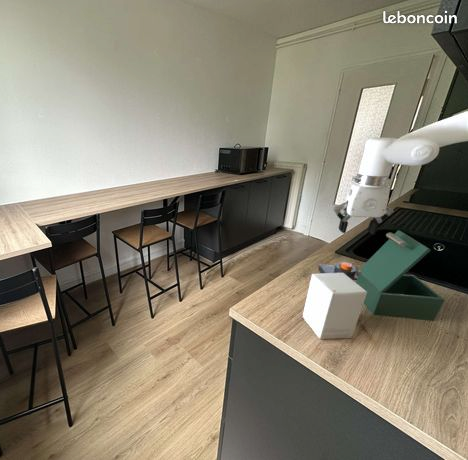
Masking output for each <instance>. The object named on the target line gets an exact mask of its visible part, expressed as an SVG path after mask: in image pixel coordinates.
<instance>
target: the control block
mask: <svg viewBox="0 0 468 460" xmlns="http://www.w3.org/2000/svg"><path fill="white" fill-rule="evenodd" d="M341 263H342V262H337V263H336V264H335V265H329V264H319V265H318V268H317V269H318V271H319V274H323V273H344V274H345V275H347V276H348V277H349V278H350V279H352V280H353V281H357V279H358V275H357V274H356V273H357V270H358V269H357V268H356V267H355V266H354V265H352V268H351V270H344V269H342V268H340V266H341Z"/></svg>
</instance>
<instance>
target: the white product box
mask: <svg viewBox="0 0 468 460" xmlns="http://www.w3.org/2000/svg"><path fill="white" fill-rule="evenodd" d="M310 277H311V278H310V282H309V285H308V291H307V294H306V298H305V299H306V300H305V304H304V307H303V313H302V318H303V319H304V320H305V322H306V323H307V325H308V326H309V327H310V328H311V330H312V331H313V333H314V334H315V335H316V336H317V338H318V339H319V340H331V339H351V338H353V334H354V333H355V329H356V326H357V323H358V321H359V318H360V315H361V312H362V309H363V306H364V301H365V298H366V295H367V291H365V290H364V289H363V288H362V287H360V286H359V285H358V284H356V282H355V280H352V279H350V278H349V277H348V276H347V275H345V274H344V273H323V274H321V273H312V274H311V276H310Z"/></svg>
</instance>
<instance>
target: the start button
mask: <svg viewBox="0 0 468 460" xmlns="http://www.w3.org/2000/svg"><path fill="white" fill-rule="evenodd" d="M340 263H341V266H340V268H342V269H344V270H351V268H352V266H353V264H352V263H350V262H347V261H342V262H340Z"/></svg>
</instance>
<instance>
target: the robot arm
mask: <svg viewBox="0 0 468 460" xmlns="http://www.w3.org/2000/svg"><path fill="white" fill-rule="evenodd" d="M465 142H468V110H466V111H463V112H461V113H458V114H455V115H452V116H450V117H447V118H443V119H441V120H439V121H436V122H433V123H431V124H427V125H426V126H423V127H421V128H418V129H415V130H414V131H411V132H408V133H406V134H404V135H402V136H401V137H399V138H396V137H372V138H370V139H368V140H367V141H366V143H365V146H364V147H365V148H364V150H363V154H362V156H361V157H362V158H361V161H360V165H359V169H358V172H357V174H356V176H352V178H351V181H352V182H354V183H352V185H351V187H350V189H349V191H348V192H347V196H346V198H345V201H344V202H342V203H341V204H338V205H336V206H334V207H333V211H334V214H335V215H336V216H337V218H338V219H339V225H338V230H339V231H340V232H341V233H342V234H345V233H346V232H347V228H348V226H349V225H348V224H349V220H350V219H351V218H352V217H354V218H372V219H370V221H369V223H368V227H367V232H369V233H370V234H371V235H376V232H377V231H378V229H379V225H380V224H381V223H383V221H384V220H386V219H388V217H389V216H391V215H392V214H393V213H394V212H395V210H394V209H393V208H392V207H390V206H388V203H389V196H390V185H388V180H389V179H390V178H389V177H390V174H391V171H392V168H393V165H394V164H395V165H401V166H402V165H403V166H411V167H418V166H423V165H427V164H429V163H431V162H432V161H434V160H435V159H436V158H437V157H438V155H439V153H440V148H442V147H443V148H444V147H447V146H449V145H453V144H458V143H459V144H460V143H465ZM342 211H343V213H342Z"/></svg>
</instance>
